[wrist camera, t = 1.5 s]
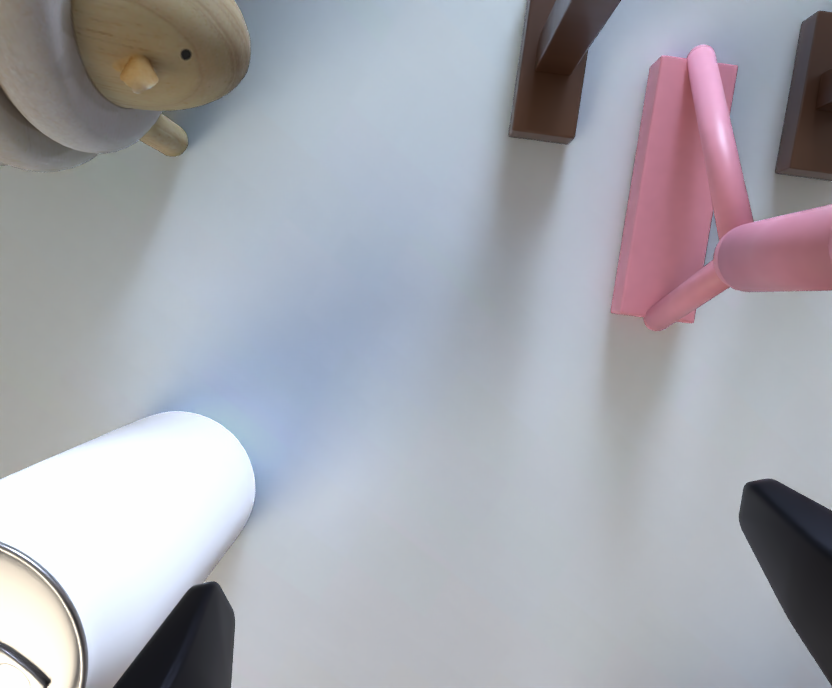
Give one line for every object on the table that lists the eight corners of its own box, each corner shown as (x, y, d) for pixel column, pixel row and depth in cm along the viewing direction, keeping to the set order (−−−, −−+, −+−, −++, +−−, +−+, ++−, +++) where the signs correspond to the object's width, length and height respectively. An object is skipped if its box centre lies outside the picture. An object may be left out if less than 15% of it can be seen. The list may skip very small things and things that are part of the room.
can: (183, 377, 24) (-51, 453, 12) (290, 486, 24) (167, 666, 12) (76, 480, 24) (-254, 653, 12) (183, 586, 25) (-37, 854, 13)
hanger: (678, 334, 24) (964, 373, 11) (607, 324, 24) (815, 353, 11) (724, 64, 23) (1090, -216, 10) (651, 53, 23) (929, -238, 10)
